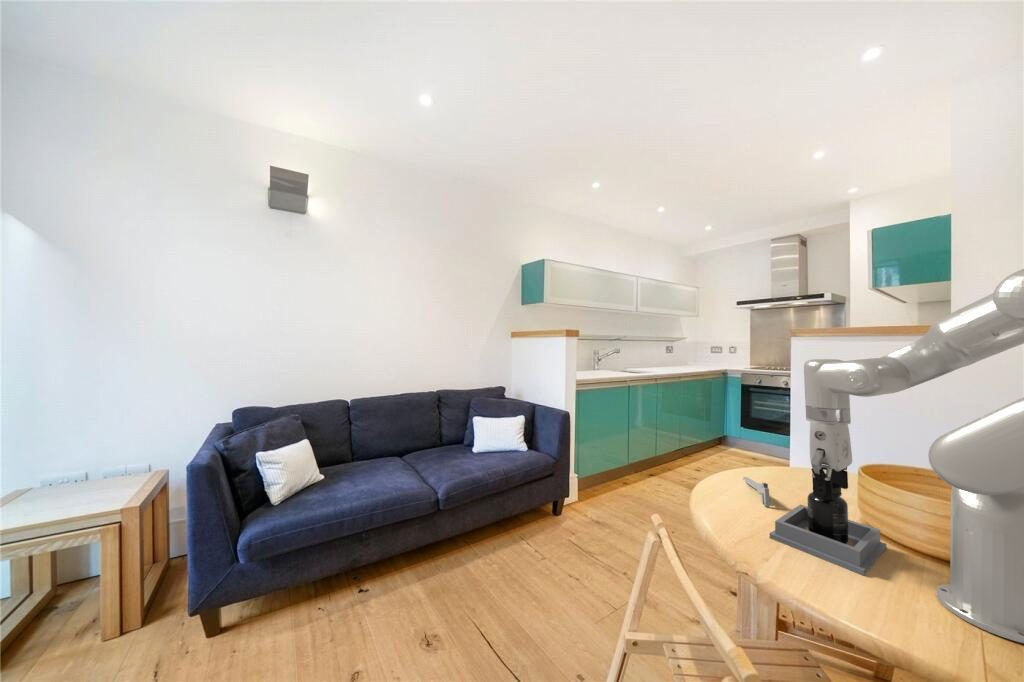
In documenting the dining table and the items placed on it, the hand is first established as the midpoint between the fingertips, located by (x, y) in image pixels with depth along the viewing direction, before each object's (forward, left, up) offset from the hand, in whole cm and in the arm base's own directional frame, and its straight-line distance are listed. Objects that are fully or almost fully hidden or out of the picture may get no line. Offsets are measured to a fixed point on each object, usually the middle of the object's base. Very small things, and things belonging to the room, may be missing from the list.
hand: (831, 492), depth 80 cm
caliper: (+22, -16, -12) cm, 30 cm away
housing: (+1, 0, -12) cm, 12 cm away
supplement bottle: (+1, 0, -11) cm, 11 cm away
